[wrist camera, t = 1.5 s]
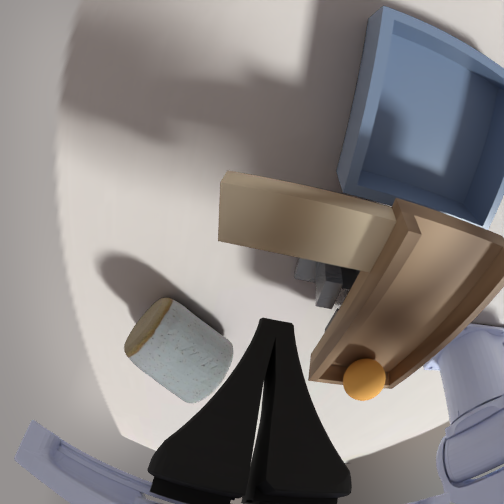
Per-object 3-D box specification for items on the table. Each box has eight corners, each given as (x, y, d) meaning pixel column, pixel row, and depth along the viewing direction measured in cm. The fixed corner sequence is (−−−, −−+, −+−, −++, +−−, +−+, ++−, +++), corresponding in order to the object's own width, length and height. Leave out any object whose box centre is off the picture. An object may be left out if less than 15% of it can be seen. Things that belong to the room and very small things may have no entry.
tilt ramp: (484, 208, 12) (519, 266, 8) (388, 338, 22) (391, 388, 18) (241, 138, 13) (211, 186, 9) (227, 309, 22) (212, 361, 19)
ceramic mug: (175, 278, 24) (138, 347, 18) (242, 330, 27) (223, 399, 21) (130, 319, 30) (100, 371, 24) (185, 358, 32) (164, 411, 26)
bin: (501, 84, 10) (532, 91, 7) (462, 211, 16) (484, 237, 13) (368, 18, 11) (383, 5, 8) (336, 171, 17) (342, 192, 14)
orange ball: (393, 354, 16) (393, 395, 15) (373, 368, 19) (372, 405, 17) (354, 349, 17) (352, 393, 15) (338, 364, 19) (334, 402, 17)
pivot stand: (458, 241, 17) (486, 286, 13) (425, 297, 21) (441, 345, 17) (314, 201, 18) (315, 246, 14) (294, 271, 22) (290, 324, 17)
